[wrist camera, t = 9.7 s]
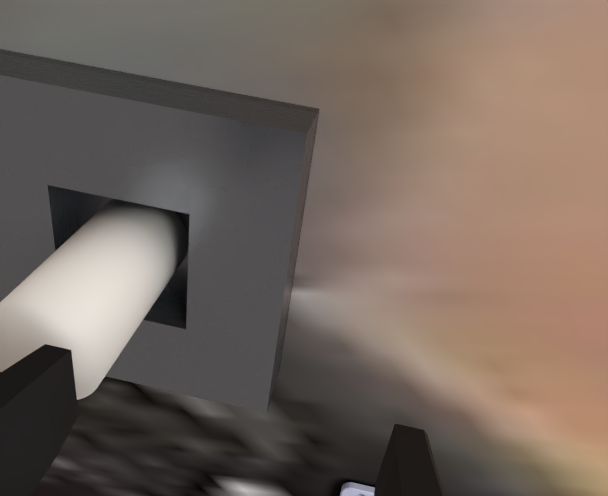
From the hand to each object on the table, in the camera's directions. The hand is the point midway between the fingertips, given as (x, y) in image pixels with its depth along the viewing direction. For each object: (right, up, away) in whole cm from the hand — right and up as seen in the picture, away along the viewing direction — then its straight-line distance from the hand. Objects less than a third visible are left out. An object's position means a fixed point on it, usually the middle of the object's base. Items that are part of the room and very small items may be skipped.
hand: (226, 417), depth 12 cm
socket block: (-4, +4, +10) cm, 12 cm away
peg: (-5, +4, +9) cm, 11 cm away
